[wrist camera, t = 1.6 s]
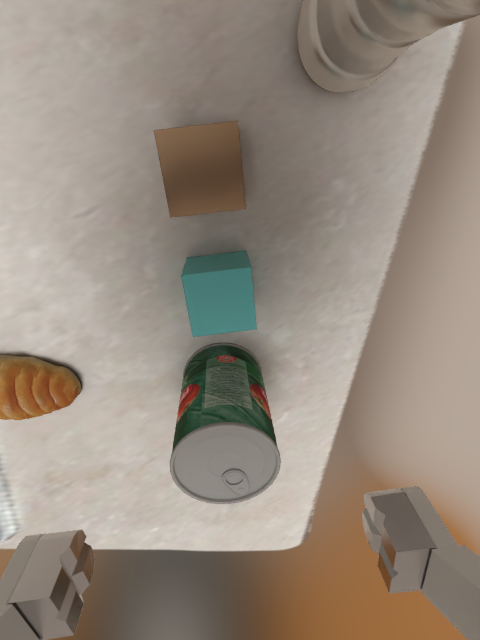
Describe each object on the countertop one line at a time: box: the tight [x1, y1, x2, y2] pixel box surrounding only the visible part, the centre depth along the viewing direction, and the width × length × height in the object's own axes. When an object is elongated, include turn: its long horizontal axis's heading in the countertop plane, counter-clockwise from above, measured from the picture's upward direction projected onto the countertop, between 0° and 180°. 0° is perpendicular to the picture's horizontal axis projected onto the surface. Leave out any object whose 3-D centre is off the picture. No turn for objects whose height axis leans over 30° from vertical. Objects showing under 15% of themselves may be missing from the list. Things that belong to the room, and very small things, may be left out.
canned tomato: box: [170, 343, 281, 504], centre depth 28 cm, size 8×8×11 cm
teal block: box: [181, 251, 257, 337], centre depth 27 cm, size 5×5×5 cm
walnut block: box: [154, 121, 246, 218], centre depth 23 cm, size 5×5×5 cm
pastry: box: [0, 355, 81, 420], centre depth 30 cm, size 9×7×4 cm
